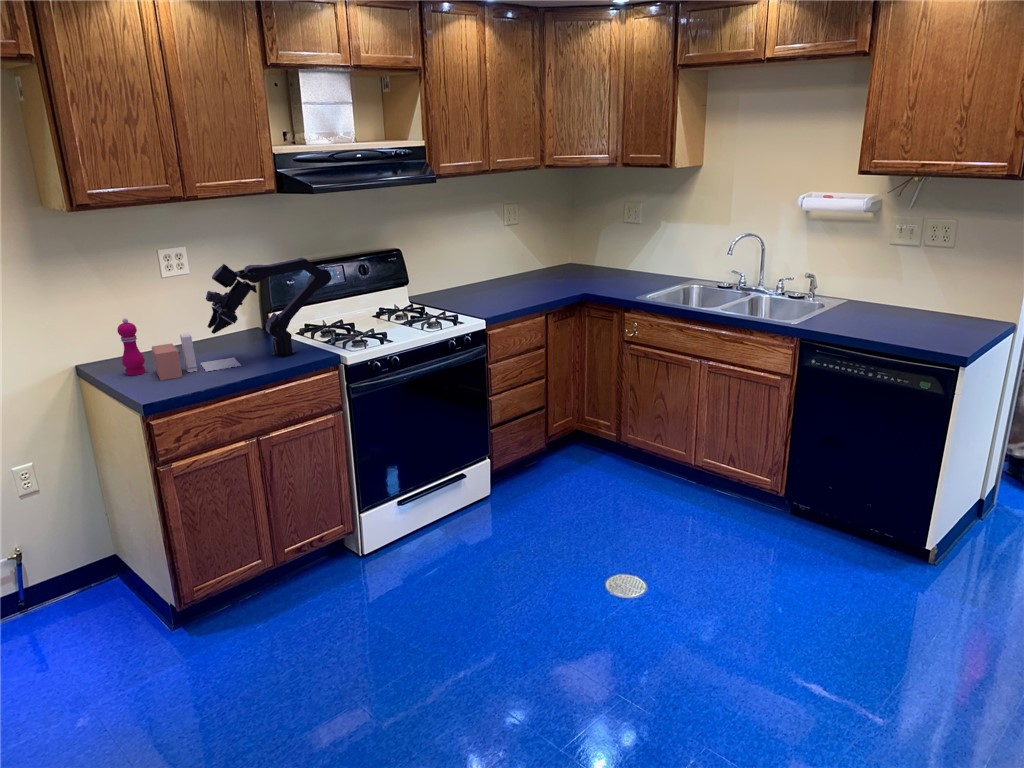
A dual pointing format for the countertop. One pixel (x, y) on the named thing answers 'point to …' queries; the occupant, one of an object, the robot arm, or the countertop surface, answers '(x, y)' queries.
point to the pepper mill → (130, 349)
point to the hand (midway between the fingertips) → (210, 330)
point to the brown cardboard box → (167, 361)
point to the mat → (220, 364)
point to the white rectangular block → (188, 352)
